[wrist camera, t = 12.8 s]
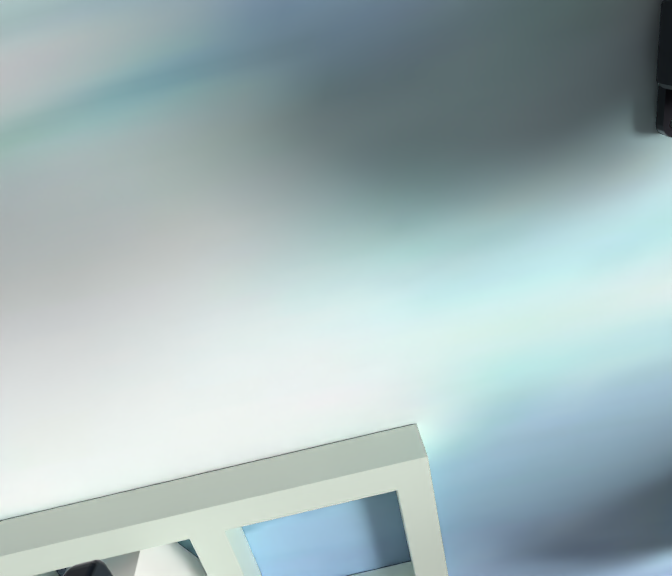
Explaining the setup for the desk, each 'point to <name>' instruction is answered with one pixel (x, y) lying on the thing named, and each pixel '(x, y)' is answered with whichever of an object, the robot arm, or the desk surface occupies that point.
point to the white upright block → (156, 562)
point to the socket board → (237, 510)
